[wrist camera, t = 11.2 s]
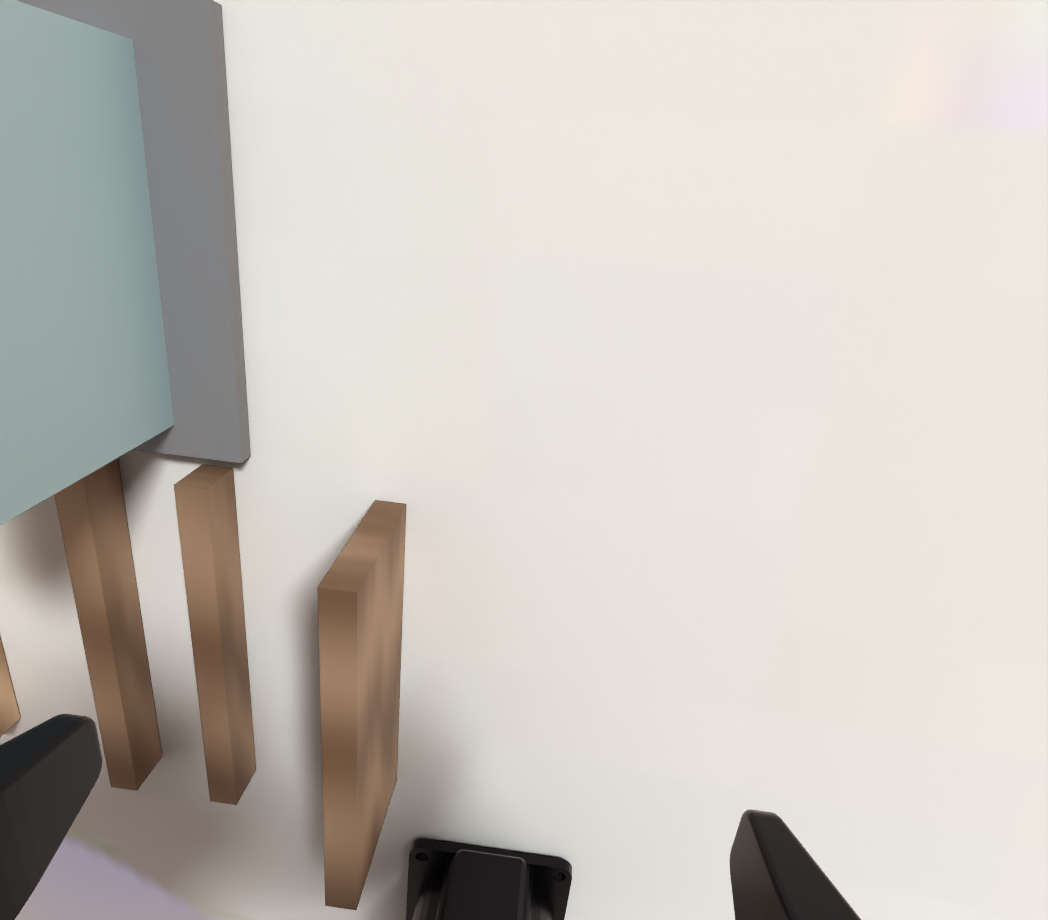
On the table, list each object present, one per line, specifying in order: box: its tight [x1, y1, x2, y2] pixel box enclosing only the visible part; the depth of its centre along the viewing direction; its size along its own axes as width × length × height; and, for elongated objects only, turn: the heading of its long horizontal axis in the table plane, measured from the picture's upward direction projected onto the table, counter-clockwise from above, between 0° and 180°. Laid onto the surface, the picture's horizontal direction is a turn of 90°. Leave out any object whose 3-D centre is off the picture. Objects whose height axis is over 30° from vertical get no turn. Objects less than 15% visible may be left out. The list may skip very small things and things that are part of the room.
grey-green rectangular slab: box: [0, 0, 174, 526], centre depth 14 cm, size 10×2×8 cm, turn 174°
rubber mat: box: [16, 0, 251, 463], centre depth 18 cm, size 12×6×1 cm, turn 174°
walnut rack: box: [55, 458, 406, 910], centre depth 21 cm, size 13×10×5 cm
